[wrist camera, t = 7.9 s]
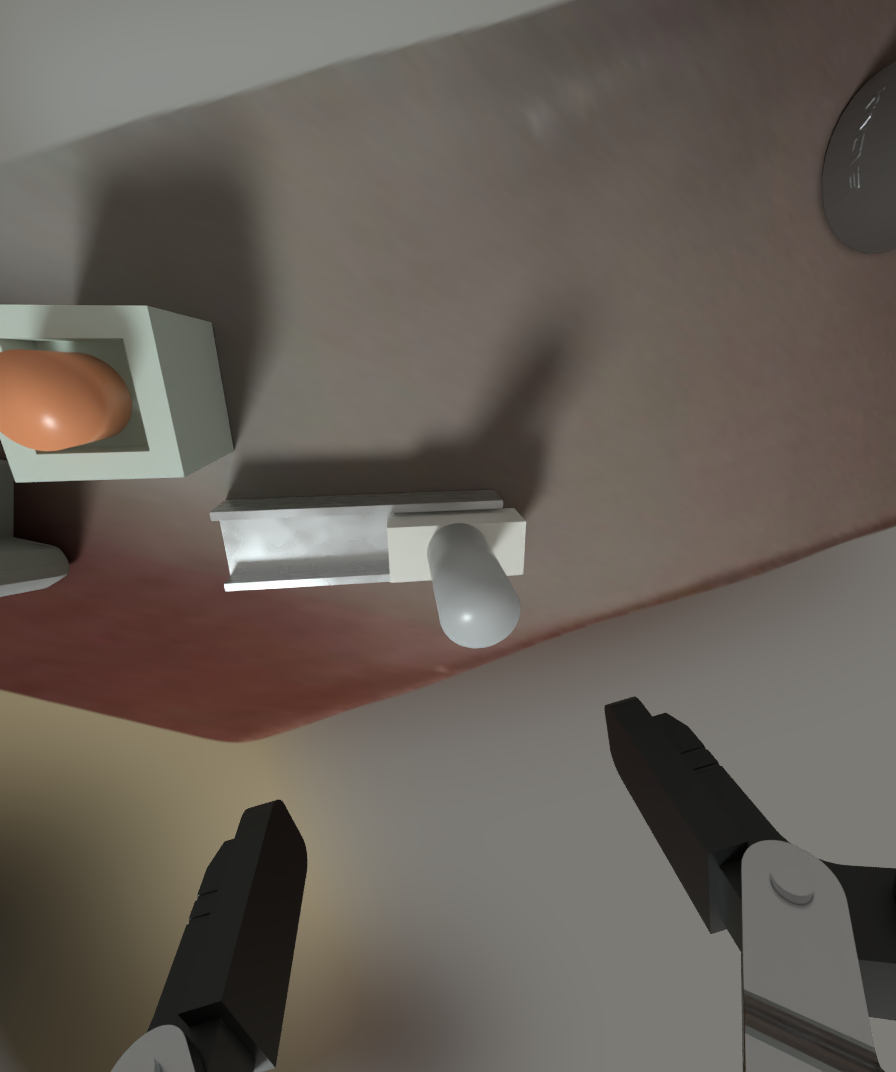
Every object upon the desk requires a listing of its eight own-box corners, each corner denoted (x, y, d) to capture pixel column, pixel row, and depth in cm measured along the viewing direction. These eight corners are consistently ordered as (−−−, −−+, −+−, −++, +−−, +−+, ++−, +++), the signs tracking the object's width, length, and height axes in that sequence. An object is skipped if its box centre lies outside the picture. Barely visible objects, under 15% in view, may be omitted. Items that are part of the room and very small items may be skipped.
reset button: (119, 351, 19) (72, 349, 16) (141, 438, 20) (101, 449, 17) (25, 352, 18) (-40, 349, 16) (53, 440, 20) (-3, 452, 17)
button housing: (211, 322, 24) (146, 305, 18) (234, 450, 27) (184, 476, 20) (72, 321, 24) (-48, 304, 17) (108, 454, 26) (15, 482, 20)
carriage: (514, 506, 28) (572, 570, 19) (511, 558, 30) (565, 641, 21) (387, 511, 28) (386, 581, 19) (390, 565, 29) (390, 655, 20)
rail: (493, 489, 30) (503, 500, 27) (491, 558, 32) (500, 574, 29) (225, 499, 28) (209, 512, 25) (239, 572, 30) (225, 591, 27)
